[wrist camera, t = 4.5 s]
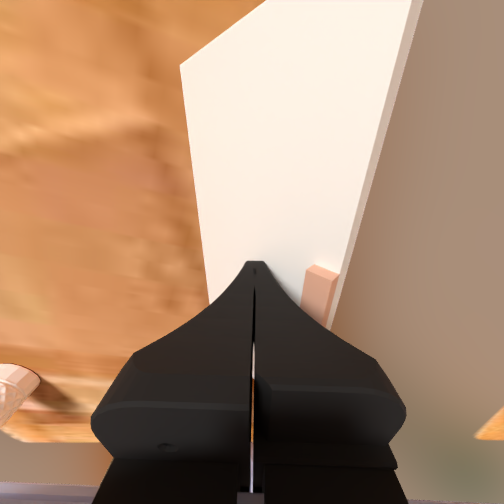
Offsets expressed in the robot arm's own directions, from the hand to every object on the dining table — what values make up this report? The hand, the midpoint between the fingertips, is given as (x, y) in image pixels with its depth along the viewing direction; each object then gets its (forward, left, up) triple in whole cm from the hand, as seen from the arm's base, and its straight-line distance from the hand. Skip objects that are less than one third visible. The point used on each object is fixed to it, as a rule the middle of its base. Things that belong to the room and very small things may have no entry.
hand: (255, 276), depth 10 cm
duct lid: (0, 0, -1) cm, 1 cm away
